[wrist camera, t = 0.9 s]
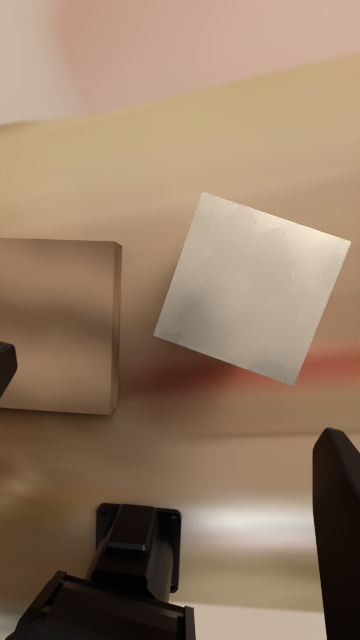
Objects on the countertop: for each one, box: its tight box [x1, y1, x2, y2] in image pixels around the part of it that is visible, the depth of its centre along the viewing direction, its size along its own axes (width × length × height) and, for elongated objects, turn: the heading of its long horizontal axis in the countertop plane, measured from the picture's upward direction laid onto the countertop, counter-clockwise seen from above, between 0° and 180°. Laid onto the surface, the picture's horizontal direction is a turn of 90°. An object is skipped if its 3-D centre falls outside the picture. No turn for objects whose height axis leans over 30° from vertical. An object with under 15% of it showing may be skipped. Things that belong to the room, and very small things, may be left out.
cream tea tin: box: [153, 192, 351, 386], centre depth 19 cm, size 6×6×11 cm
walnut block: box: [0, 238, 122, 415], centre depth 24 cm, size 12×12×2 cm
